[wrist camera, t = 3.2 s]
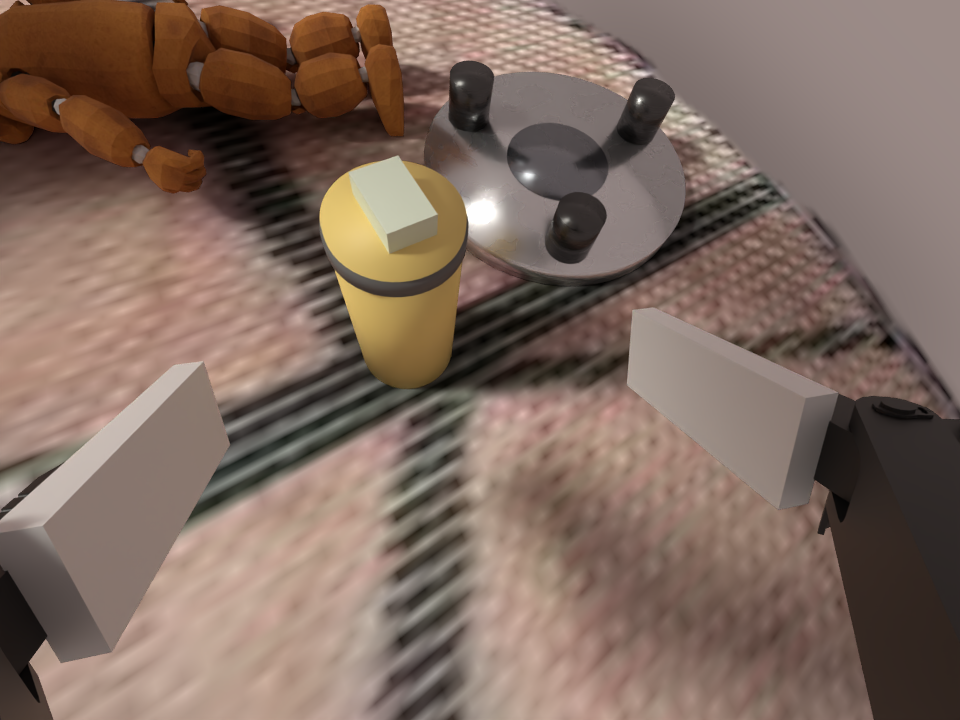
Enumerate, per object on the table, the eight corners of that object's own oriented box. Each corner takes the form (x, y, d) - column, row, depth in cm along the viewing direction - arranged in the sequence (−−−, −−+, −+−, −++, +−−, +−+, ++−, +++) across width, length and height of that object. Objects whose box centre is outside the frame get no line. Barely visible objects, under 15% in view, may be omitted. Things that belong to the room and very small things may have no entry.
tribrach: (379, 130, 32) (371, 68, 28) (579, 67, 37) (598, 6, 33) (514, 330, 27) (529, 290, 23) (725, 224, 32) (769, 176, 28)
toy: (378, 31, 38) (-54, 25, 32) (373, -72, 32) (-169, -107, 25) (419, 216, 31) (-129, 259, 24) (422, 129, 25) (-315, 155, 18)
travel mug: (345, 330, 26) (283, 163, 15) (426, 294, 27) (425, 118, 16) (386, 406, 24) (352, 285, 13) (470, 364, 26) (501, 222, 15)
